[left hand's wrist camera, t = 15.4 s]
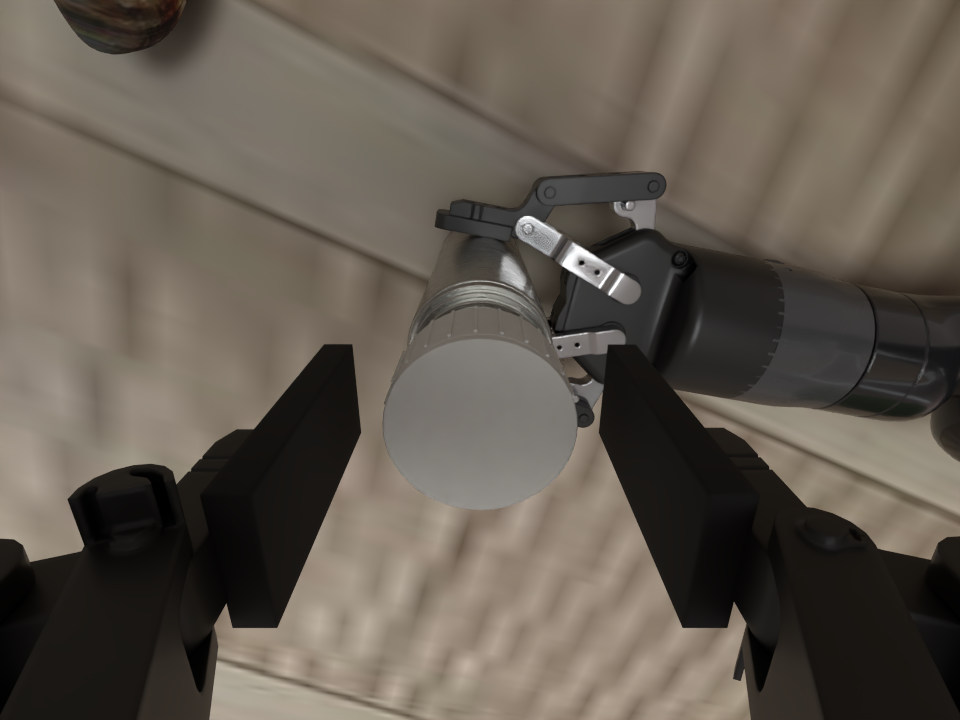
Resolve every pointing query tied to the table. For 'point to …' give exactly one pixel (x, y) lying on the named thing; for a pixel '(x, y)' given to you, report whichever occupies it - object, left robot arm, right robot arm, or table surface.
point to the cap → (480, 410)
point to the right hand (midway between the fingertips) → (429, 272)
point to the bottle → (479, 282)
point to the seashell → (121, 22)
